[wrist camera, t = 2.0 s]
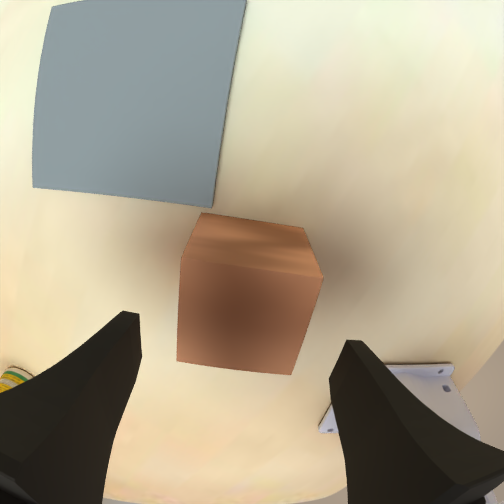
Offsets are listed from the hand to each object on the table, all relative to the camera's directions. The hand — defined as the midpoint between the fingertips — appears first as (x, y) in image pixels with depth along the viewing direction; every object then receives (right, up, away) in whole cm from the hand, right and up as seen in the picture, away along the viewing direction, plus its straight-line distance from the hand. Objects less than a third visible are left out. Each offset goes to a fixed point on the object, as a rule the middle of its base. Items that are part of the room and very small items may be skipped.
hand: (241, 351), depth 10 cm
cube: (0, +3, +6) cm, 7 cm away
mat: (-6, +11, +2) cm, 12 cm away
